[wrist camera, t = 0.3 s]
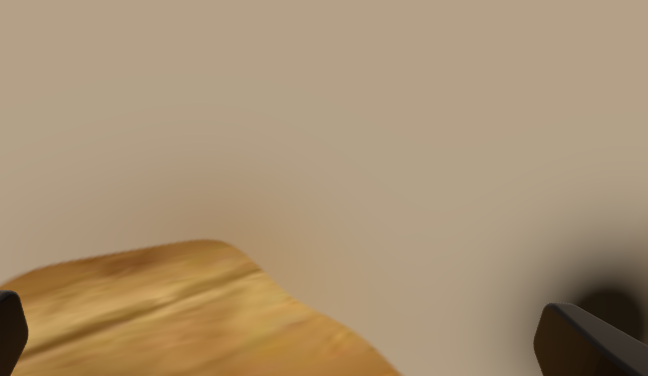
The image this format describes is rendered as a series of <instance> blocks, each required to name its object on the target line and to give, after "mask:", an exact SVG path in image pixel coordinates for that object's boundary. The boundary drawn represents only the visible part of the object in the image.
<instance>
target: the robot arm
mask: <svg viewBox="0 0 648 376" xmlns="http://www.w3.org/2000/svg"><path fill="white" fill-rule="evenodd" d="M27 340H28V326H27V322H26V319H25V315H24V311H23V308H22V304H21V300H20V297H19V295H18V294H17V293H16V292H14V291H11V290H0V376H10V375H11V373H12V371H13V369H14V367H15V365H16V363H17V361H18V359H19V357H20V355H21V353H22V351H23V349H24V347H25V345H26V343H27ZM533 344H534V351H535V354H536V357H537V360H538V363H539V365H540V368H541V371H542V373H543V376H648V346H646V345H644V344H643V343H641V342H639V341H638V340H636V339H634V338H632V337H630V336H628V335H627V334H625V333H623V332H622V331H620V330H618V329H616V328H614V327H613V326H611V325H609V324H607V323H606V322H604V321H602V320H600V319H598V318H597V317H595V316H593V315H591V314H590V313H588V312H586V311H584V310H582V309H581V308H579V307H577V306H575V305H573V304H570V303H549V304H547V305H546V306H545V307H544V309H543V311H542V315H541V318H540V321H539V324H538V327H537V330H536V334H535V337H534V343H533Z"/></svg>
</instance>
